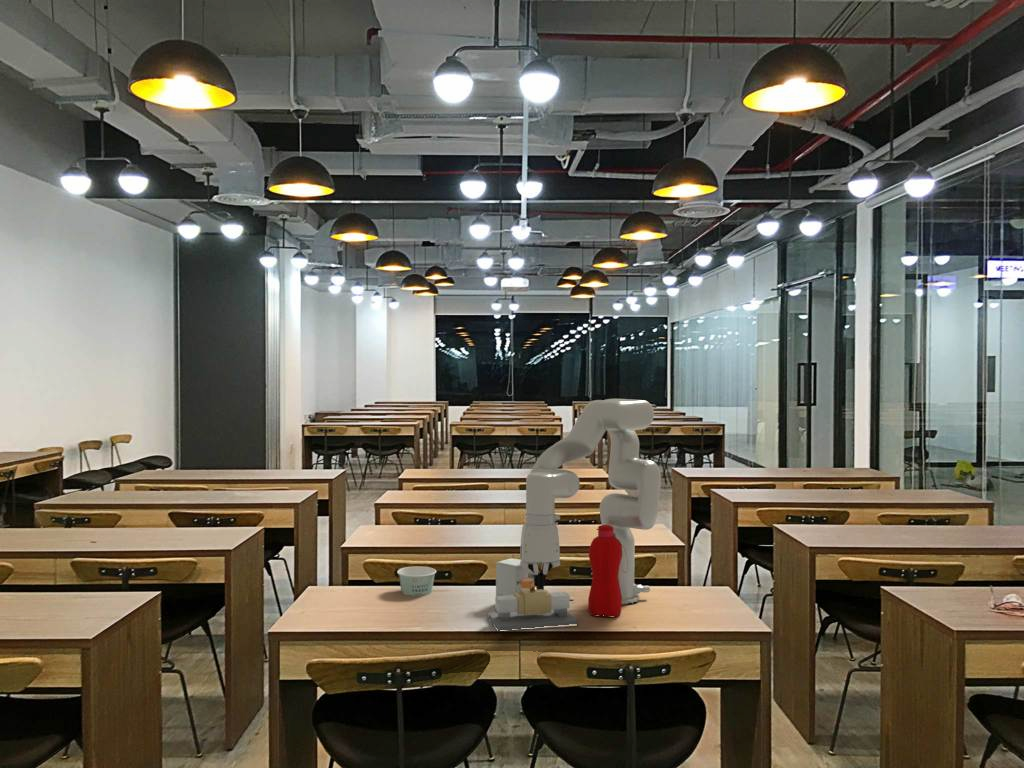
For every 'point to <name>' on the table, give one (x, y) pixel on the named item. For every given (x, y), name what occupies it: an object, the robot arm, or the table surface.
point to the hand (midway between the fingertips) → (539, 588)
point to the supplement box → (509, 576)
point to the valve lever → (528, 581)
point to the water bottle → (605, 573)
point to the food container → (416, 580)
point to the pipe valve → (532, 603)
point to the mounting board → (531, 620)
